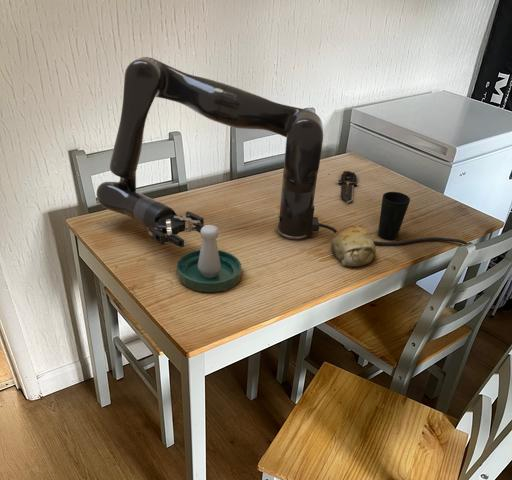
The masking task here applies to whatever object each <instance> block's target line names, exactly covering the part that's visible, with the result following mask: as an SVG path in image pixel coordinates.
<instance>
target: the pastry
mask: <svg viewBox="0 0 512 480" xmlns="http://www.w3.org/2000/svg"><path fill="white" fill-rule="evenodd" d="M337 231H338V232H336V233H334V234H333V239H332V240H331V241H330V245H331V249H332V251H333V255H334V256H335V257H336V259H337V260H339V262H341V265H342V266H343V267H352V268H353V267H360V266H365V265H369V264H370V263H372V261H373V259H374V257H375V256H376V254H377V249H376V244H374V242H373V241H374V240H373V239H372V238H371V235H370V233H369V231H368V230H366V228H364V226H362V225H349V226H345V227H343V228H341V229H340V230H337Z"/></svg>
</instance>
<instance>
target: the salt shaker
mask: <svg viewBox="0 0 512 480" xmlns="http://www.w3.org/2000/svg"><path fill="white" fill-rule="evenodd" d="M219 233H220V232H219V229H218V227H217V226H215V225H212V224H207V225H205V226H204V227H202V229H201V232H200V233H199V234H200V237H201V238H202V241H201V245H200V249H199V250H200V255H199V261H198V269H199V271H200V272H201V274H202V275H203V277H205V278H213V277H216V276H217V274H218V272H219V270H220V268H221V264H220V258H219V253H218V250H219V248H218V242H217V238H218V237H219Z"/></svg>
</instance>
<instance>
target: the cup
mask: <svg viewBox="0 0 512 480" xmlns="http://www.w3.org/2000/svg"><path fill="white" fill-rule="evenodd" d="M410 202H411V197H410V196H409V195H407V194H405V193H402V192H398V191H387V192H385V193H383V194H382V199H381V206H380V215H379V221H378V222H379V223H378V231H377V236H378V237H379V238H380V239H382V240H385V241H395V240H396V239H397V237H398V235H399V232H400V230H401V227H402V225H403V224H402V223H403V221H404V219H405V216H406V213H407V211H408V209H409V205H410Z"/></svg>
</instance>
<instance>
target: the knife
mask: <svg viewBox="0 0 512 480" xmlns="http://www.w3.org/2000/svg"><path fill="white" fill-rule="evenodd" d="M342 172H343V173H342V174H341V177H340V179H338V183H337V185H340V186H341V188H340V196H339V197H340V198H341V199H342V200H343V201H346V204H349V203H350V202H352V201H353V197H354V188H355V187H358V182H357V174H356V173H355V172H354V171H353V172H352V171H350V170H345V171H342ZM347 181H349V182H347Z"/></svg>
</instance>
